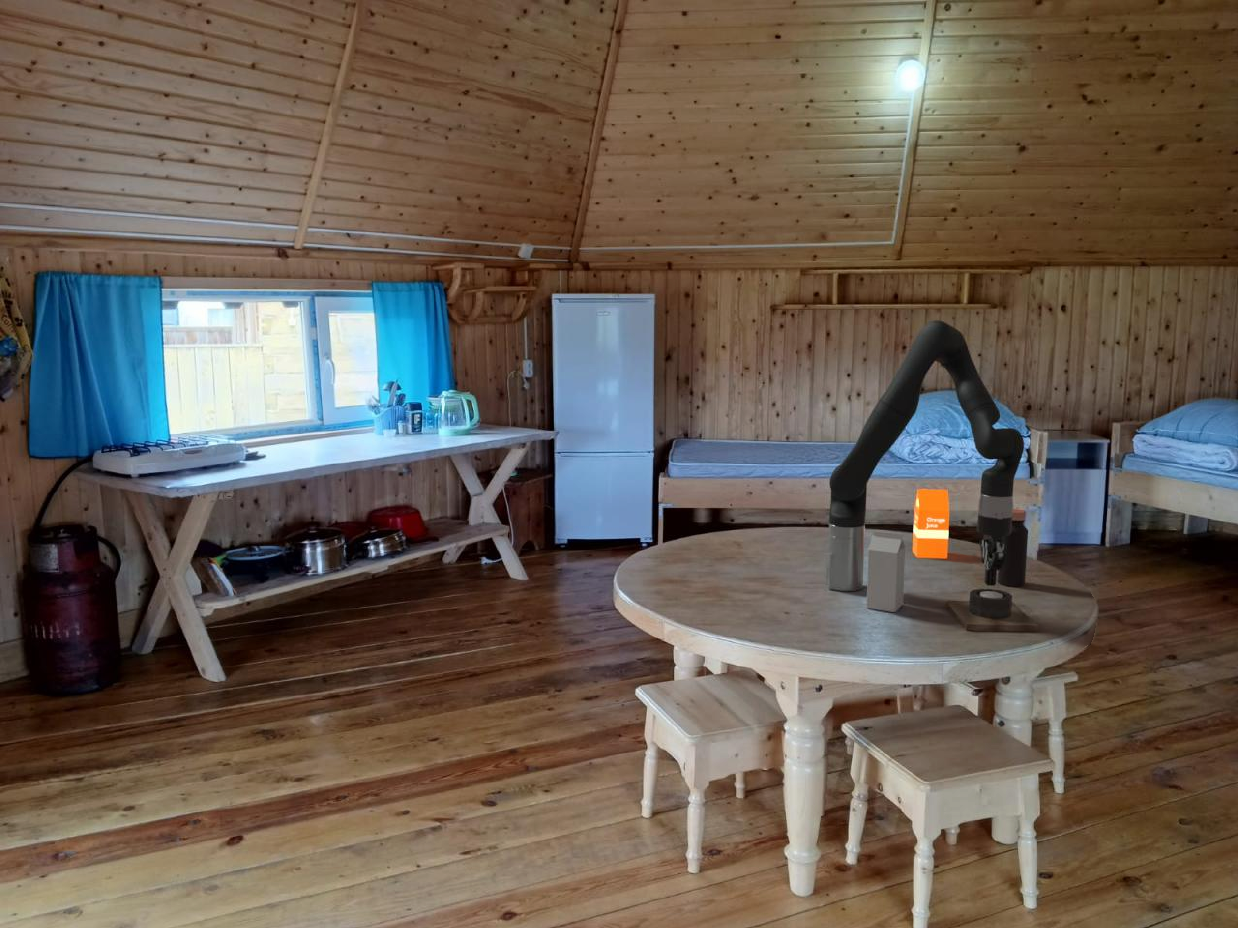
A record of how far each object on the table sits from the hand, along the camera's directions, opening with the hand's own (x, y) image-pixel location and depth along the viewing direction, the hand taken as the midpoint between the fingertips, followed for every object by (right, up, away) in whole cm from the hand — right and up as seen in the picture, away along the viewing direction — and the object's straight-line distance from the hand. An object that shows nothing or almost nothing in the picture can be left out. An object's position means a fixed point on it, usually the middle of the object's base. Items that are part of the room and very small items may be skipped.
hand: (990, 584), depth 223 cm
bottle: (+18, -4, +30) cm, 35 cm away
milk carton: (-22, -7, +11) cm, 26 cm away
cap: (+1, -7, +1) cm, 7 cm away
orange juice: (+6, +1, +61) cm, 61 cm away
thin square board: (+1, -8, +2) cm, 8 cm away
